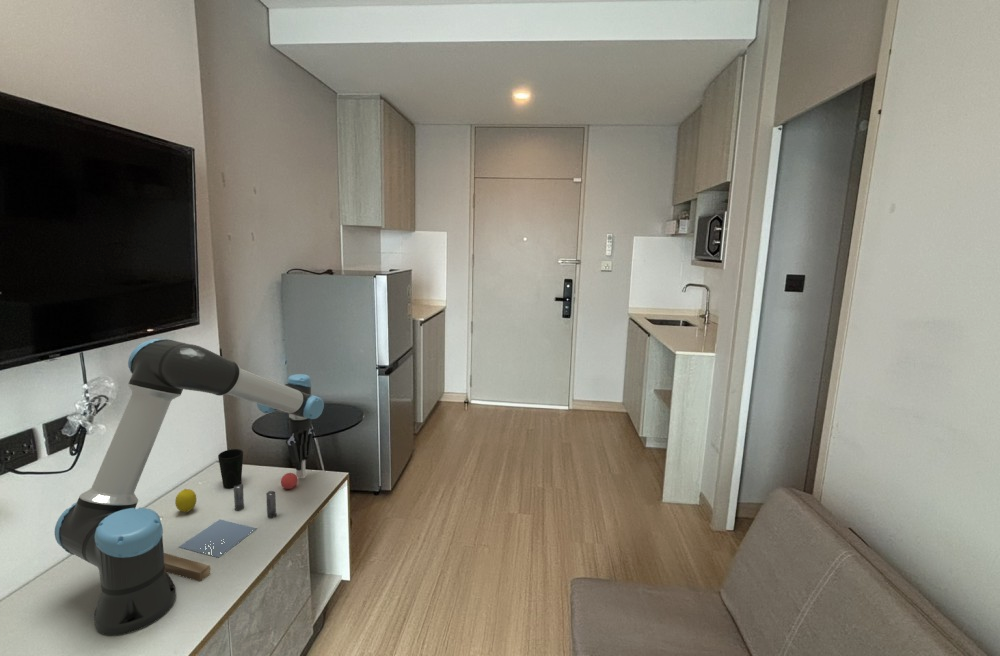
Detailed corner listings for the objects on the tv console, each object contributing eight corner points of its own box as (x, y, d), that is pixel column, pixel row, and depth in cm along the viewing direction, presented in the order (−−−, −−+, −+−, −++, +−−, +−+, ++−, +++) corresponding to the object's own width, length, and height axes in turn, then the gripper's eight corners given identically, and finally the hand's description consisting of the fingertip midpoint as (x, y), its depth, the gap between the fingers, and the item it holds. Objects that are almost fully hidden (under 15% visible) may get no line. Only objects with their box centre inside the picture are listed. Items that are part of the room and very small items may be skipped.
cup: (221, 481, 165) (219, 450, 163) (245, 478, 168) (243, 447, 166) (218, 492, 158) (216, 460, 156) (243, 488, 161) (242, 456, 159)
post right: (272, 518, 145) (271, 495, 143) (265, 517, 145) (264, 494, 144) (278, 514, 147) (277, 491, 146) (271, 512, 148) (270, 490, 146)
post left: (239, 511, 148) (238, 488, 146) (232, 509, 148) (231, 487, 147) (245, 507, 150) (244, 484, 149) (239, 505, 151) (238, 483, 149)
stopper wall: (200, 581, 117) (199, 573, 117) (140, 564, 122) (139, 556, 121) (210, 573, 120) (209, 565, 119) (151, 557, 125) (150, 549, 124)
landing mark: (218, 558, 126) (218, 557, 126) (178, 547, 129) (178, 546, 129) (257, 528, 139) (257, 528, 139) (219, 519, 143) (219, 519, 143)
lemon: (201, 508, 148) (199, 485, 147) (188, 517, 143) (186, 494, 141) (185, 506, 149) (183, 483, 147) (171, 516, 143) (170, 492, 142)
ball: (290, 493, 160) (290, 478, 159) (277, 490, 161) (277, 476, 160) (301, 485, 165) (300, 471, 164) (288, 482, 166) (287, 469, 165)
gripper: (303, 409, 172) (303, 467, 176) (278, 421, 160) (280, 483, 163) (320, 412, 170) (320, 470, 174) (296, 424, 158) (298, 486, 162)
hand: (301, 476), depth 169 cm, fingers closed
